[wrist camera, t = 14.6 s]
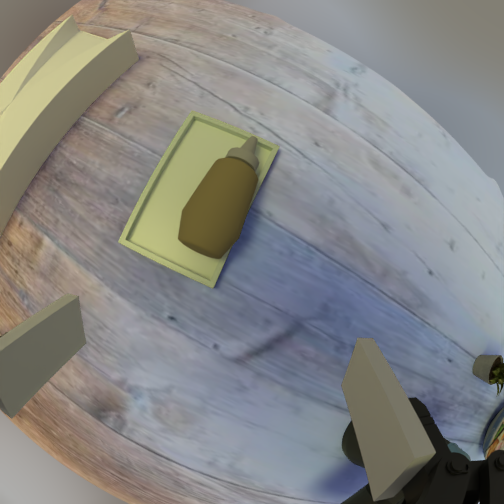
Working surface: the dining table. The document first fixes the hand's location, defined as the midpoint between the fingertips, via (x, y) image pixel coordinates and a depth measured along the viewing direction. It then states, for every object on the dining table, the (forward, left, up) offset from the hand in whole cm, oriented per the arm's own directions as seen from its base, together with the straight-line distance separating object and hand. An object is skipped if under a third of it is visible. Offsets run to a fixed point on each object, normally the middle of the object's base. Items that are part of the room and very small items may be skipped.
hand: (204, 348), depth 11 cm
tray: (+1, -15, -27) cm, 31 cm away
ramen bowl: (-76, +55, -28) cm, 98 cm away
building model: (+36, -36, -28) cm, 58 cm away
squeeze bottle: (+1, -6, -22) cm, 23 cm away
